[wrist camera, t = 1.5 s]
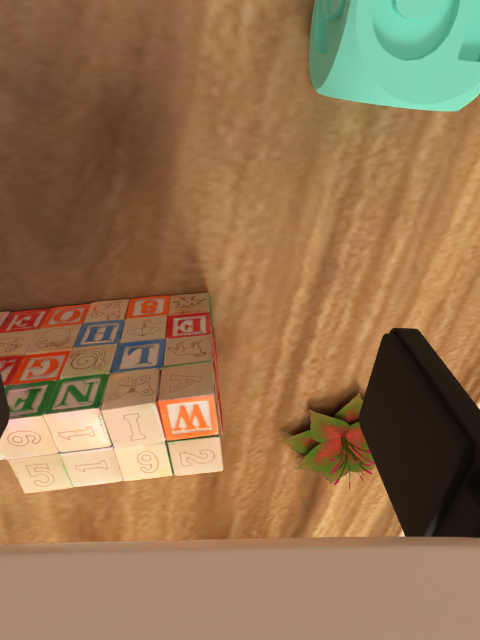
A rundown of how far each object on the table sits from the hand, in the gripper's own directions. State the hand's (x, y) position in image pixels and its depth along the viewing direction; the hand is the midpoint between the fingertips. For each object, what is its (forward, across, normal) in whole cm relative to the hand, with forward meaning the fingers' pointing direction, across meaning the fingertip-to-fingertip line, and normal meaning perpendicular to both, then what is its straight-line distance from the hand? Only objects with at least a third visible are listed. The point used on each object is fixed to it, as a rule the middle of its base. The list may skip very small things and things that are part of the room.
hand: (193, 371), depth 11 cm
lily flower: (+22, -15, +25) cm, 36 cm away
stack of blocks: (+22, +9, +14) cm, 27 cm away
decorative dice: (+22, -10, -9) cm, 26 cm away
